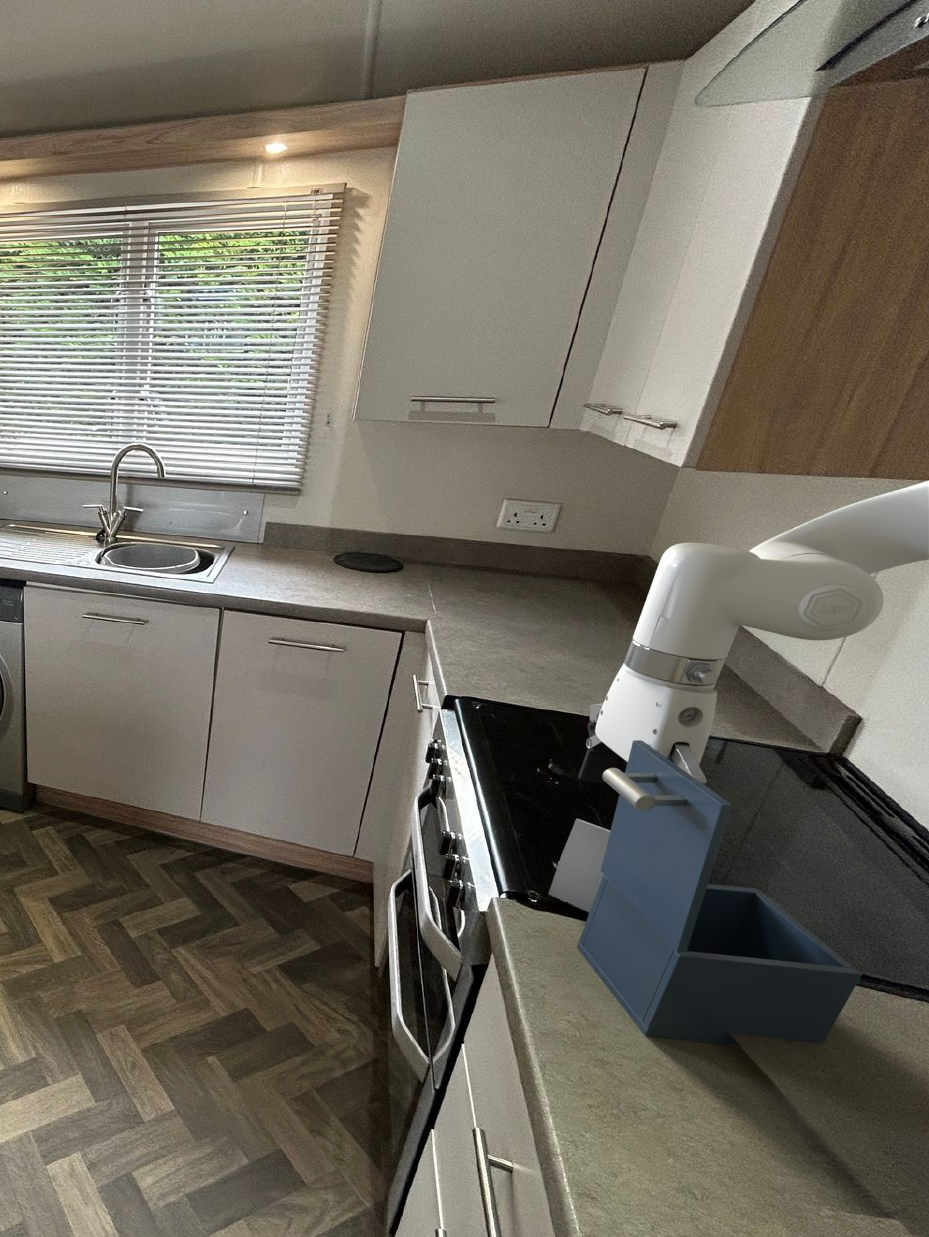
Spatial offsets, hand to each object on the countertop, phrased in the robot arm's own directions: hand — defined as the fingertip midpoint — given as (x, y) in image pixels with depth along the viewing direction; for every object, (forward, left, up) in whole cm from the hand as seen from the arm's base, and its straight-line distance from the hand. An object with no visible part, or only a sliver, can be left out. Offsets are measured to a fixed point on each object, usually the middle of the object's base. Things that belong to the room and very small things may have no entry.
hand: (618, 803), depth 81 cm
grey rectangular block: (0, 0, -14) cm, 14 cm away
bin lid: (+5, +14, +4) cm, 16 cm away
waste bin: (-2, +14, -14) cm, 20 cm away
